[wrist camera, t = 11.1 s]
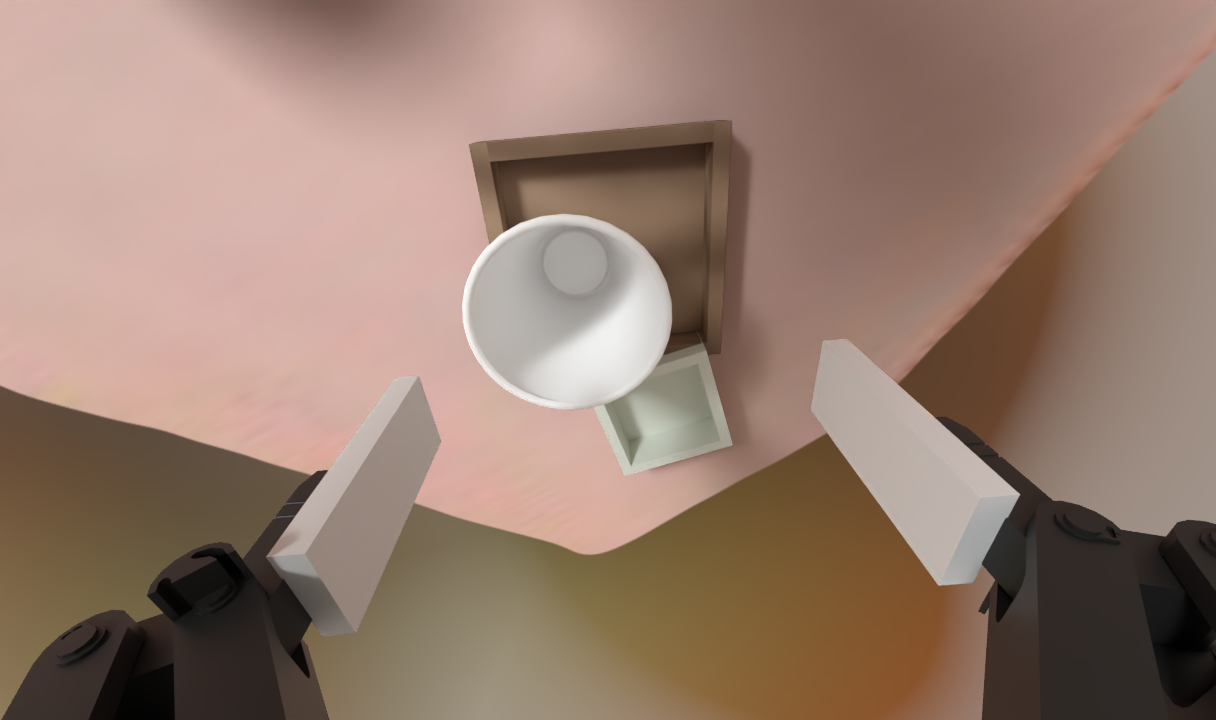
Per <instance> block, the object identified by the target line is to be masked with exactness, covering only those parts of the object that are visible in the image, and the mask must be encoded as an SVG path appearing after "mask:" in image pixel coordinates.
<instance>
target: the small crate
mask: <svg viewBox="0 0 1216 720" xmlns="http://www.w3.org/2000/svg"><path fill="white" fill-rule="evenodd" d="M697 333H698V332H697ZM698 335H699V334H698ZM699 338H700V336H699ZM700 340H701V338H700ZM701 342H702V340H701ZM594 409H595V412H596V414H597V416H598V418H599V420H600V423H601V425H602V427H603V429H604V431H605V434H606V436H607V438H608V440H609V443H610V445H611V447H612V449H613V451H614V454H615V456H616V458H617V460H618V462H619V465H620V467H621V469H622V471H623V473H624V476H627V475H631V474H634V473H638V472H641V471H645V470H648V469H652V468H655V467H659V466H662V465H666V464H669V463H673V462H676V461H680V460H683V459H687V458H690V457H694V456H697V455H701V454H704V453H708V452H711V451H715V450H718V449H722V448H725V447H729V446H732V445H733V444H732V441H731V437H730V433H729V430H728V426H727V423H726V419H725V415H724V412H723V408H722V405H721V401H720V397H719V394H718V390H717V387H716V383H715V379H714V376H713V372H712V369H711V365H710V361H709V358H708V354H707V351H706V349H705V346H704V344H703V342H702V343H701V344H697V345H694V346H691V347H688V348H685V349H682V350H679V351H676V352H673V353H669V354H666V355H663V356H662V358H661V359H660V361H659V362H658V364H657V365H656V367H655V368H654V370H653V372H652V373H651V374H650V375H649V376H648V377H647V378H646V379H645V380H644V381H643V382H642V383H641V384H640V385H639V386H638V387H636V388H635V389H633V390H632V391H631V392H629V393H628V394H626V395H625V396H623V397H621V398H619V399H616V400H614V401H612V402H610V403H608V404H604V405H600V406H597V407H594Z"/></svg>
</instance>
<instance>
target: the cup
mask: <svg viewBox="0 0 1216 720" xmlns="http://www.w3.org/2000/svg"><path fill="white" fill-rule="evenodd" d="M462 310H463V325H464V329H465V332H466V336H467V340H468V343H469V345H470V347H471V349H472V351H473V353H474V355H475V357H476V359H477V361H478V362H479V363H480V365H481V366H482V367H483V368H484V370H485V371H486V372H487V374H488V375H489V376H490V377H491V378H492V379H494V380H495V381H496V382H497V383H498V384H499V385H500V386H501V387H502V388H504V389H506V390H507V391H509V392H510V393H512V394H514V395H515V396H517V397H518V398H521V399H523V400H526V401H528V402H530V403H533V404H535V405H539V406H543V407H548V408H552V409H564V410H578V409H588V408H593V407H597V406H600V405H604V404H608V403H610V402H612V401H614V400H616V399H619V398H621V397H623V396H625V395H626V394H628V393H629V392H631V391H632V390H633V389H635V388H636V387H638V386H639V385H640V384H641V383H642V382H643V381H644V380H645V379H646V378H647V377H648V376H649V375H650V374H651V373H652V372H653V370H654V368H655V367H656V365H657V364H658V362H659V361H660V359H661V358H662V356H663V353H664V351H665V348H666V346H667V343H668V341H669V337H670V331H671V326H672V301H671V297H670V293H669V289H668V285H667V282H666V280H665V278H664V276H663V274H662V272H661V270H660V268H659V266H658V264H657V262H656V261H655V260H654V259H653V257H652V256H651V255H650V253H649V252H648V251H647V250H646V248H645V247H644V246H643V245H641V244H640V243H639V242H638V241H637V240H635V239H634V238H633V237H632V236H631V235H629V234H628V233H627V232H625V231H623V230H621V229H619V228H617V227H616V226H614V225H612V224H610V223H608V222H605V221H602V220H598V219H595V218H592V217H588V216H582V215H572V214H557V215H548V216H540V217H537V218H534V219H531V220H528V221H525V222H522V223H519V224H517V225H516V226H514V227H512V228H511V229H509V230H507V231H505V232H504V233H502V234H500V235H499V236H498V237H497V238H496V239H495V240H494V241H493V242H492V243H491V244H490V245H488V246H487V247H486V248H485V249H484V251H483V252H482V254H481V255H480V257H479V258H478V260H477V261H476V262H475V264H474V265H473V267H472V270H471V272H470V275H469V277H468V280H467V282H466V285H465V291H464V297H463V303H462Z"/></svg>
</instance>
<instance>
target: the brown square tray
mask: <svg viewBox="0 0 1216 720" xmlns="http://www.w3.org/2000/svg"><path fill="white" fill-rule="evenodd" d="M731 131H732V121H728V120H716V121H705V122H694V123H683V124H671V125H660V126H649V127H638V128H627V129H616V130H605V131H594V132H582V133H571V134H560V135H549V136H538V137H527V138H516V139H504V140H493V141H482V142H476V143H472V144H469V147H470V152H471V157H472V162H473V167H474V171H475V176H476V181H477V186H478V191H479V196H480V200H481V205H482V210H483V215H484V220H485V224H486V229H487V234H488V239H489V244H491V243H492V242H493V241H494V240H495V239H496V238H497V237H498V236H499V235H500V234H502V233H504V232H505V231H507V230H509V229H511V228H512V227H514V226H516V225H517V224H519V223H522V222H525V221H528V220H531V219H534V218H537V217H540V216H548V215H557V214H572V215H582V216H588V217H592V218H595V219H598V220H602V221H605V222H608V223H610V224H612V225H614V226H616V227H617V228H619V229H621V230H623V231H625V232H627V233H628V234H629V235H631V236H632V237H633V238H634V239H635V240H637V241H638V242H639V243H640V244H641V245H643V246H644V247H645V248H646V250H647V251H648V252H649V253H650V255H651V256H652V257H653V259H654V260H655V261H656V262H657V264H658V266H659V268H660V270H661V272H662V274H663V276H664V278H665V280H666V282H667V285H668V289H669V293H670V297H671V301H672V326H671V331H670V337H669V341H668V343H667V346H666V348H665V351H664V353H663V355H666V354H669V353H673V352H676V351H679V350H682V349H685V348H688V347H691V346H694V345H697V344H701V343H702V342H703V344H704V346H705V349H706V351H707V354H708V355H710V354H720V353H721V333H722V312H723V292H724V272H725V252H726V232H727V212H728V192H729V171H730V151H731ZM697 332H698V333H697ZM698 334H699V335H698ZM699 336H700V338H701V340H702V342H701V340H700V338H699Z"/></svg>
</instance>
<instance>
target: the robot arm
mask: <svg viewBox="0 0 1216 720" xmlns="http://www.w3.org/2000/svg"><path fill="white" fill-rule="evenodd" d="M810 410H811V411H812V413H813V414H814V415H815V417H816V418H817V420H818V421H819V422H820V424H821V425H822V426H823V428H824V429H825V431H826V432H827V433H828V435H829V436H830V437H831V439H832V440H833V442H834V443H835V444H836V445H837V447H838V448H839V450H840V451H841V452H842V454H843V455H844V457H845V458H846V459H847V461H848V462H849V463H850V465H851V466H852V468H853V469H854V470H855V472H856V473H857V474H858V476H859V477H860V478H861V480H862V481H863V483H864V484H865V485H866V487H867V488H868V490H869V491H870V492H871V494H872V495H873V496H874V497H875V499H876V500H877V502H878V503H879V505H880V506H881V507H882V509H883V510H884V511H885V513H886V514H887V515H888V517H889V518H890V520H891V521H892V522H893V524H894V525H895V527H896V528H897V529H898V531H899V532H900V533H901V535H902V536H903V537H904V539H905V540H906V542H907V543H908V544H909V546H910V547H911V548H912V550H913V551H914V553H915V554H916V555H917V557H918V558H919V559H920V561H921V562H922V564H923V565H924V566H925V568H926V569H927V570H928V572H929V573H930V574H931V576H932V577H933V578H934V580H935V581H936V582H937V584H938V585H939V586H941V585H953V584H965V583H973V582H974V580H975V578H976V576H977V574H978V573H979V571H980V569H981V567H982V565H983V566H984V567H985V568H986V569H987V571H988V572H989V573H990V574H991V575H992V576H993V578H994V579H995V582H994V584H993V585H992V587H991V589H990V591H989V592H988V594H987V596H986V598H985V599H984V601H983V603H982V605H981V607H980V609H979V612H981V613H983V614H985V613H986V611H987V609H988V608H989V619H988V633H987V648H986V664H985V680H984V694H983V710H982V720H1216V524H1213V523H1209V522H1205V521H1195V520H1186V521H1181V522H1178V523H1177V524H1176V525H1175V526H1174V527H1173V528H1172V530H1171V531H1170V532H1169V534H1168V535H1167V536H1166V537H1164V536H1158V535H1151V534H1145V533H1138V532H1132V531H1126V530H1121V529H1119V528H1118V527H1117V526H1116V525H1115V524H1114V523H1113V522H1112V521H1110V520H1108V519H1107V518H1105V517H1103V516H1102V515H1100V514H1098V513H1097V512H1095V511H1092V510H1090V509H1087V508H1085V507H1082V506H1080V505H1077V504H1073V503H1068V502H1064V501H1053V500H1052V499H1051V498H1049V497H1048V496H1047V495H1046V494H1045V493H1043V492H1042V491H1041V490H1040V489H1039V488H1038V487H1036V486H1035V485H1034V484H1033V483H1032V482H1031V481H1029V480H1028V479H1027V478H1026V477H1025V476H1023V475H1022V474H1021V473H1020V472H1019V471H1018V470H1016V469H1015V468H1014V467H1013V466H1012V465H1011V464H1009V463H1008V462H1007V461H1006V460H1005V459H1003V458H1002V457H999V456H998V453H996V452H995V451H994V450H993V449H992V448H990V447H989V446H988V445H985V444H984V442H983V441H982V440H981V439H980V438H979V437H978V436H976V435H975V434H974V433H973V432H972V431H970V430H969V429H968V428H966V427H964V426H962V425H961V424H959V423H957V422H955V421H953V420H951V419H949V418H947V417H936V418H934V417H933V416H932V415H931V414H930V413H929V412H928V411H927V410H926V409H924V408H923V407H922V406H921V405H920V404H919V403H918V402H917V401H916V400H914V399H913V398H912V397H911V396H910V395H909V394H908V393H907V392H906V391H904V390H903V389H902V388H901V387H900V386H899V385H898V384H897V383H896V382H894V381H893V380H892V379H891V378H890V377H889V376H888V375H887V374H886V373H884V372H883V371H882V370H881V369H880V368H879V367H878V366H877V365H876V364H874V363H873V362H872V361H871V360H870V359H869V358H868V357H867V356H866V355H864V354H863V353H862V352H861V351H860V350H859V349H858V348H857V347H856V346H854V345H853V344H852V343H851V342H850V341H849V340H848V339H836V340H825V341H823V344H822V349H821V354H820V360H819V365H818V371H817V376H816V382H815V387H814V393H813V398H812V404H811V409H810ZM440 443H441V439H440V436H439V433H438V430H437V427H436V425H435V422H434V419H433V416H432V413H431V410H430V407H429V404H428V401H427V398H426V395H425V392H424V389H423V386H422V384H421V381H420V378H419V375H418V376H406V377H395V379H394V380H393V381H392V383H391V384H390V386H389V387H388V388H387V390H386V391H385V392H384V394H383V395H382V397H381V398H380V399H379V401H378V402H377V404H376V405H375V406H374V408H373V409H372V411H371V412H370V413H369V415H368V416H367V418H366V419H365V420H364V422H363V423H362V424H361V426H360V427H359V429H358V430H357V431H356V433H355V434H354V436H353V437H352V438H351V440H350V441H349V443H348V444H347V445H346V447H345V448H344V449H343V451H342V452H341V454H340V455H339V456H338V458H337V459H336V461H335V462H334V463H333V465H332V466H331V468H330V469H329V470H323V471H317V472H316V473H314V474H313V475H312V476H311V477H309V478H308V479H307V480H306V481H304V482H303V483H302V484H301V485H300V486H299V487H298V488H297V489H296V490H295V492H294V493H293V494H292V496H291V497H290V498H289V500H288V501H287V504H286V505H285V506H283V507H282V509H281V510H280V511H279V513H278V514H277V515H276V519H273V520H272V522H271V523H270V524H269V526H268V527H267V528H266V530H265V531H264V532H263V533H262V535H261V536H260V538H259V539H258V540H257V541H256V543H255V544H254V545H253V546H252V548H251V549H250V551H249V552H248V553H247V554H246V556H245V557H244V558H243V559H242V558H241V557H240V556H239V554H237V552H236V551H235V549H234V548H233V547H232V545H231V544H228V543H222V542H219V543H213V544H208V545H205V546H202V547H200V548H197V549H194V550H192V551H190V552H188V553H187V554H185V555H184V556H182V557H180V558H178V559H177V560H175V561H174V562H173V563H172V564H170V565H169V566H168V567H167V568H166V569H164V570H163V571H162V572H161V573H160V574H159V575H158V577H157V578H156V579H155V580H154V581H153V583H152V584H151V586H150V589H149V591H148V594H147V596H148V597H149V598H150V599H151V600H152V601H153V603H155V605H156V606H157V607H159V608H160V610H161V611H162V612H163V614H160V615H157V616H154V617H151V618H149V619H145V620H143V621H140V622H135V621H134V620H133V619H132V618H131V617H130V616H129V615H128V614H126V612H125V611H123V610H111V611H107V612H104V613H100V614H97V615H95V616H93V617H90V618H89V619H86V620H85V621H82V622H80V623H78V624H77V625H76V626H74V627H72V628H71V629H70V630H68V631H66V632H65V633H63V634H62V635H61V636H59V637H58V638H57V639H56V640H55V641H54V642H53V643H51V644H50V645H49V646H48V647H47V648H46V649H45V650H44V651H43V652H42V654H41V655H40V656H39V657H38V659H37V660H36V661H35V662H34V664H33V665H32V667H31V669H30V671H29V672H28V674H27V676H26V677H25V679H24V681H23V683H22V684H21V686H20V688H19V690H18V692H17V694H16V695H15V697H14V699H13V700H12V703H11V704H10V706H9V707H8V709H7V711H6V713H5V715H4V716H3V718H2V720H329V717H328V714H327V711H326V707H325V703H324V700H323V697H322V693H321V690H320V686H319V683H318V680H317V676H316V673H315V669H314V666H313V662H312V659H311V656H310V652H309V649H308V646H307V645H306V643H305V642H304V641H303V639H302V638H303V636H304V634H305V632H306V630H307V628H308V627H309V625H310V623H311V621H312V622H313V624H314V625H315V627H316V628H317V629H318V631H319V632H320V634H321V635H322V636H327V635H340V634H353V633H356V632H357V629H358V627H359V625H360V623H361V620H362V618H363V616H364V614H365V611H366V609H367V607H368V604H369V602H370V600H371V598H372V595H373V593H374V591H375V589H376V587H377V584H378V582H379V580H380V578H381V575H382V573H383V571H384V568H385V566H386V564H387V562H388V560H389V557H390V555H391V553H392V551H393V548H394V546H395V544H396V542H397V539H398V537H399V535H400V533H401V530H402V528H403V526H404V524H405V521H406V519H407V517H408V515H409V512H410V510H411V508H412V506H413V503H414V501H415V499H416V497H417V494H418V492H419V490H420V488H421V485H422V483H423V481H424V479H425V476H426V474H427V472H428V470H429V467H430V465H431V463H432V461H433V458H434V456H435V454H436V452H437V449H438V447H439V445H440Z"/></svg>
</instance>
